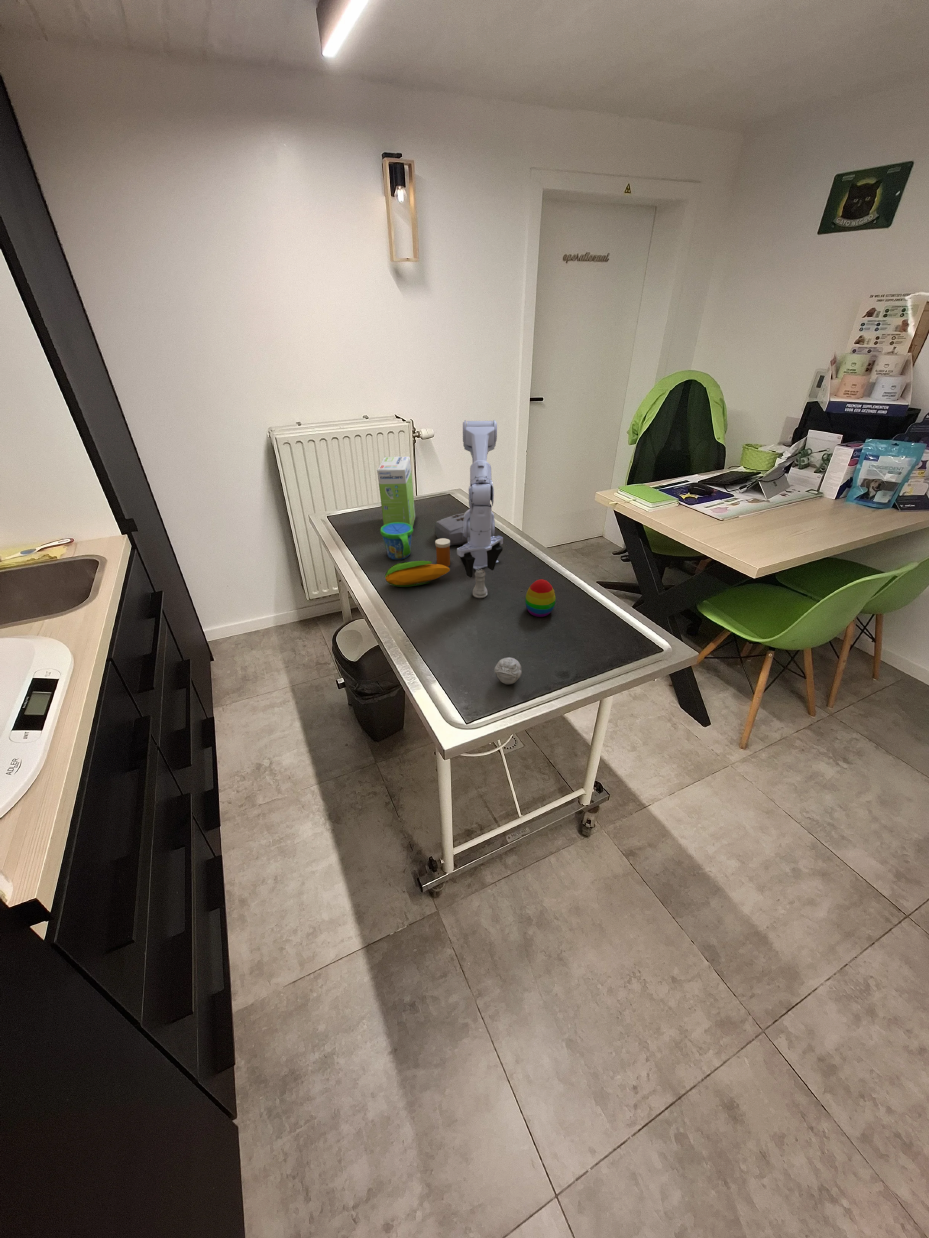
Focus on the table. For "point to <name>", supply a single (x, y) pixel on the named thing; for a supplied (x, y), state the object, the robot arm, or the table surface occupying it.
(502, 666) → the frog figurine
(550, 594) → the decorative egg
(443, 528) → the soft grey pack
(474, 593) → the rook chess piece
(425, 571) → the corn
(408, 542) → the snack cup
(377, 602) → the table surface
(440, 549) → the pill bottle
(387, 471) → the toothbrush box
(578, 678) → the table surface
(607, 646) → the table surface
